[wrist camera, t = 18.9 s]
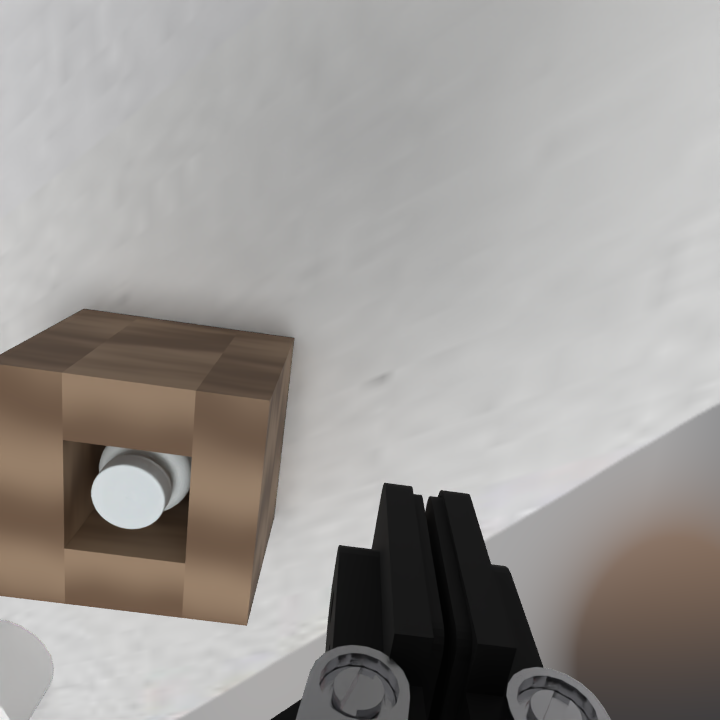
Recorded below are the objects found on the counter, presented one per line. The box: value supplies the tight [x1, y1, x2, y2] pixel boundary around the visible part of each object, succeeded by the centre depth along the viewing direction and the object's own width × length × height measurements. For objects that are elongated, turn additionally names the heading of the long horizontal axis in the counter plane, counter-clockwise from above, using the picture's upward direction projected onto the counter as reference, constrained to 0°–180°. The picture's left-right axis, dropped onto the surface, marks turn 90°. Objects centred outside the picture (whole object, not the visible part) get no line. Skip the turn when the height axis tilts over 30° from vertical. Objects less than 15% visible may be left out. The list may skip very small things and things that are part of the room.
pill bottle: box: [91, 446, 192, 529], centre depth 37 cm, size 5×5×10 cm
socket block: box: [0, 309, 294, 626], centre depth 38 cm, size 14×14×11 cm
